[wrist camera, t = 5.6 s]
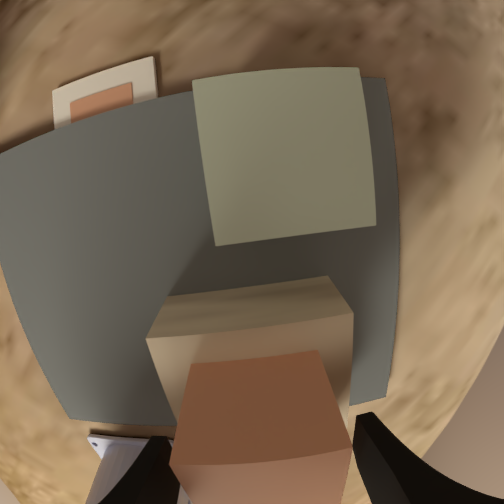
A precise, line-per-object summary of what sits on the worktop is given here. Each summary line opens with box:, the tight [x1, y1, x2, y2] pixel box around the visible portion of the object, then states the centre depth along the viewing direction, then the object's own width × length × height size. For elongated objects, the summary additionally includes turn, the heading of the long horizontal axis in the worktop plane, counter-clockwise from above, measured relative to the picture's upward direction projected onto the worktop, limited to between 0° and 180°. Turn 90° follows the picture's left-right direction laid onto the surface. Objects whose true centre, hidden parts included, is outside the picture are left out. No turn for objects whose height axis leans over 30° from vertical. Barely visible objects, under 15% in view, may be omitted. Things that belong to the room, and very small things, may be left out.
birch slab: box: [145, 276, 354, 429], centre depth 14 cm, size 8×8×4 cm
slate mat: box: [0, 77, 400, 426], centre depth 15 cm, size 19×23×1 cm
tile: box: [52, 56, 159, 129], centre depth 13 cm, size 6×6×1 cm
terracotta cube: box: [169, 350, 353, 504], centre depth 10 cm, size 5×5×5 cm
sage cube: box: [192, 67, 376, 246], centre depth 11 cm, size 5×5×5 cm
